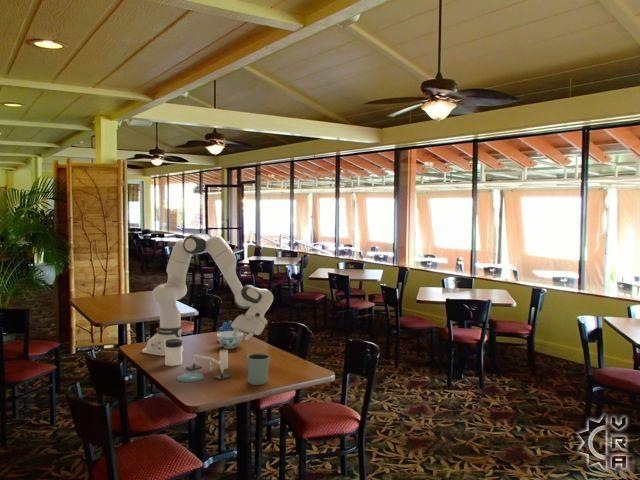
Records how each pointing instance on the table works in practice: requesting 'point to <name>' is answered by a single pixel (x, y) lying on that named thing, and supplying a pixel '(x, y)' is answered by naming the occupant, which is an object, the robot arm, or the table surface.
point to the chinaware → (229, 339)
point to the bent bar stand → (218, 377)
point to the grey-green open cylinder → (257, 368)
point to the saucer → (190, 377)
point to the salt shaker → (224, 358)
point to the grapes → (226, 327)
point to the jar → (173, 352)
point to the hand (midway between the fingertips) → (239, 338)
